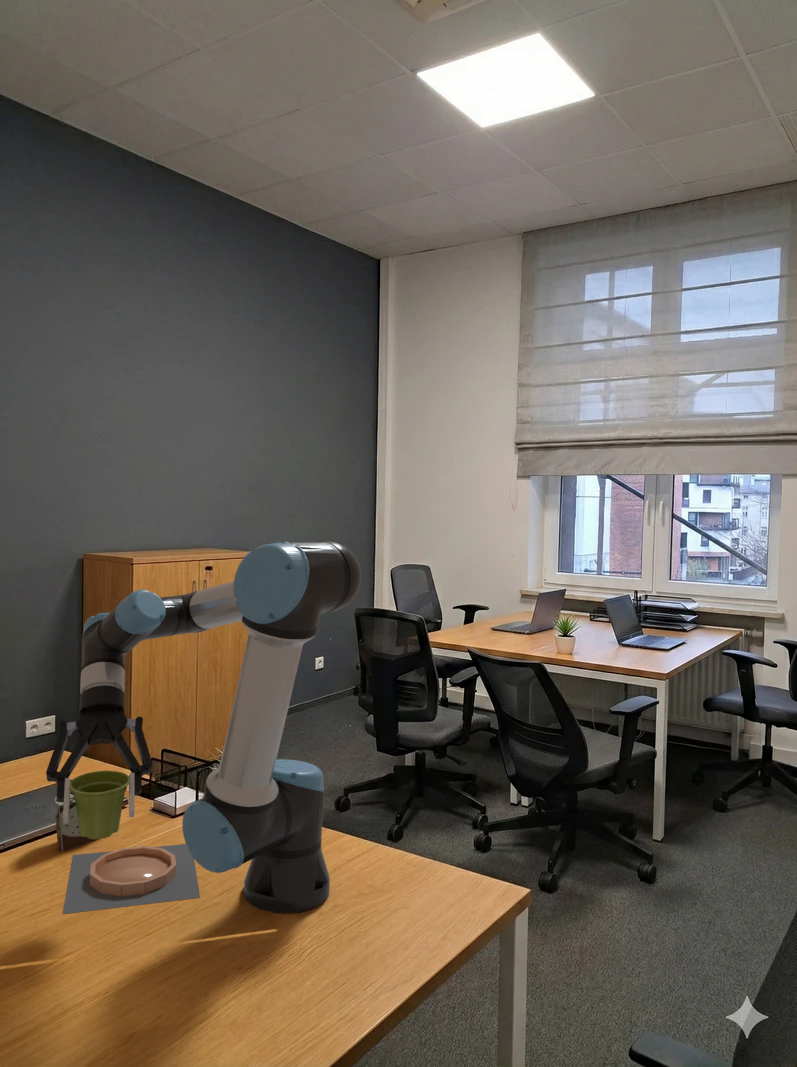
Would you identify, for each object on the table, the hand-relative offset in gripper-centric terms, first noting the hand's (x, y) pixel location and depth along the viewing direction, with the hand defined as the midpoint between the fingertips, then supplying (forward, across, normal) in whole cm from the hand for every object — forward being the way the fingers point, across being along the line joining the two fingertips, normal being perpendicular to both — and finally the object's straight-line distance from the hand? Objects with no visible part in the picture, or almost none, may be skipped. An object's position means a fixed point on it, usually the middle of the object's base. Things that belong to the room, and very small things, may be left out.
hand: (99, 817), depth 127 cm
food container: (-9, +4, -36) cm, 37 cm away
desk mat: (+3, -6, -22) cm, 23 cm away
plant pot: (+1, 0, -5) cm, 5 cm away
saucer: (+3, -6, -22) cm, 23 cm away
